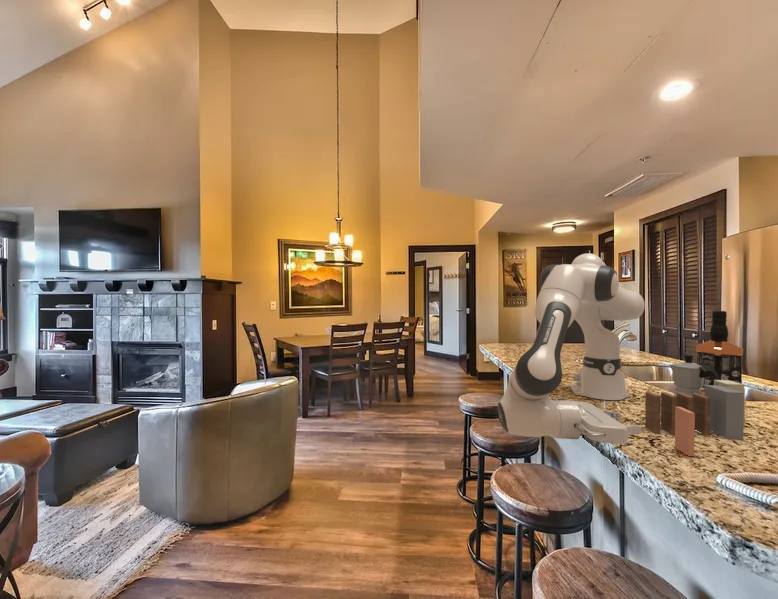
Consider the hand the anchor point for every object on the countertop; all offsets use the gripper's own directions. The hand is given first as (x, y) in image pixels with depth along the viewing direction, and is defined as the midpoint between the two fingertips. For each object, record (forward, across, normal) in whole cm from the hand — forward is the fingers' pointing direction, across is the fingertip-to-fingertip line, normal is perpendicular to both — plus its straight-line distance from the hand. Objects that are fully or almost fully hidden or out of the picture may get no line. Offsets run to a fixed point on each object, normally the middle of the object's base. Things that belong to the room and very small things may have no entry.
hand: (629, 422), depth 89 cm
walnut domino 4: (+25, +15, +6) cm, 30 cm away
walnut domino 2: (+17, +15, +6) cm, 24 cm away
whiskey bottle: (+50, +46, +6) cm, 69 cm away
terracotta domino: (+12, 0, +6) cm, 14 cm away
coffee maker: (+35, +35, +6) cm, 50 cm away
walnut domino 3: (+21, +15, +6) cm, 27 cm away
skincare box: (+38, +24, +6) cm, 46 cm away
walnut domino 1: (+13, +15, +6) cm, 21 cm away
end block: (+31, +15, +6) cm, 35 cm away
